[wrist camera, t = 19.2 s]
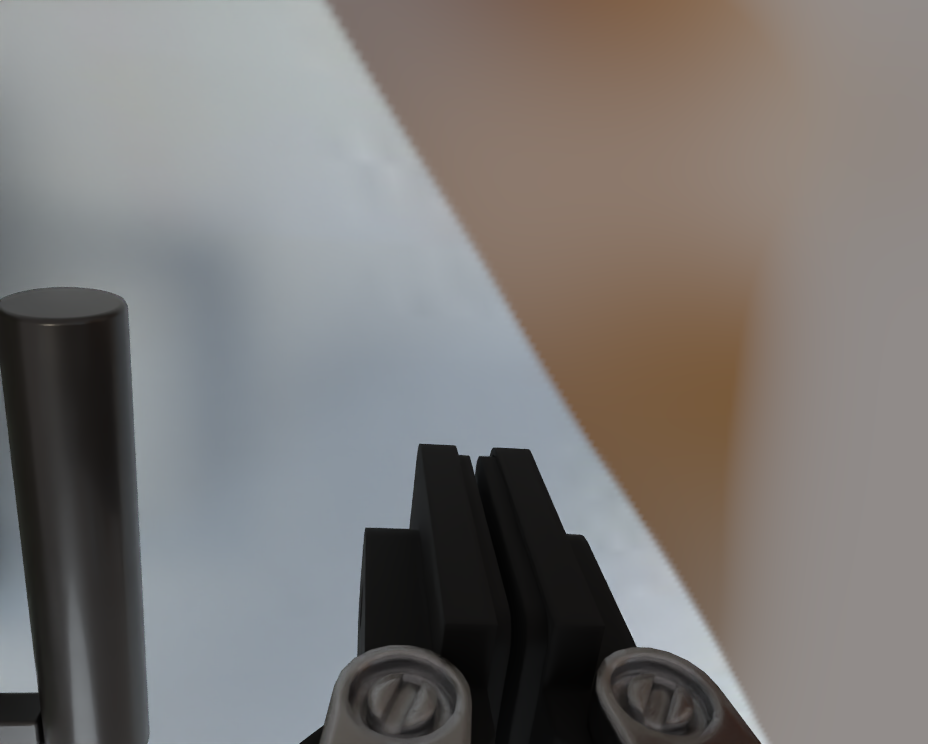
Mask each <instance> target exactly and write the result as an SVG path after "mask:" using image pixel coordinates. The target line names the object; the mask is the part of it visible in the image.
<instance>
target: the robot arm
mask: <svg viewBox="0 0 928 744" xmlns="http://www.w3.org/2000/svg"><path fill="white" fill-rule="evenodd" d="M300 744H761V742H760V741H759V740H758V739H757V737H756V736H755V735H754V733H753V732H752V731H751V729H750V728H749V727H748V725H747V724H746V723H745V721H744V720H743V719H742V717H741V716H740V715H739V713H738V712H737V711H736V709H735V708H734V707H733V705H732V704H731V703H730V701H729V700H728V699H727V697H726V696H725V695H724V693H723V692H722V691H721V690H720V688H719V687H718V686H717V685H716V684H715V683H714V682H713V680H712V679H711V678H710V677H709V676H708V675H707V674H706V673H705V672H704V671H702V670H701V669H699V668H698V667H696V666H695V665H693V664H692V663H690V662H689V661H688V660H685V659H683V658H681V657H679V656H676V655H674V654H672V653H669V652H666V651H662V650H657V649H653V648H640V647H636V645H635V642H634V640H633V638H632V636H631V634H630V632H629V630H628V627H627V625H626V623H625V621H624V619H623V617H622V615H621V612H620V610H619V608H618V606H617V604H616V602H615V600H614V597H613V595H612V593H611V591H610V589H609V587H608V585H607V582H606V580H605V578H604V576H603V574H602V572H601V570H600V567H599V565H598V563H597V561H596V559H595V557H594V555H593V552H592V550H591V548H590V546H589V544H588V542H587V540H586V539H585V537H584V536H582V535H576V534H566V533H565V530H564V528H563V526H562V523H561V521H560V519H559V516H558V514H557V512H556V509H555V507H554V505H553V502H552V500H551V498H550V495H549V493H548V491H547V488H546V486H545V484H544V481H543V479H542V477H541V474H540V472H539V470H538V467H537V465H536V463H535V460H534V458H533V456H532V453H531V451H530V450H529V449H513V448H492V450H491V453H490V457H487V456H479V458H478V460H477V465H476V472H475V475H474V471H473V467H472V463H471V460H470V457H469V456H466V455H458V452H457V448H456V446H454V445H434V444H419V447H418V452H417V461H416V470H415V480H414V490H413V499H412V509H411V518H410V528H409V529H393V528H365V533H364V544H363V556H362V569H361V582H360V598H359V618H358V654H357V657H356V658H354V659H353V660H352V661H351V662H350V663H349V664H348V665H347V666H346V667H345V668H344V669H343V670H342V671H341V673H340V675H339V677H338V679H337V681H336V683H335V685H334V689H333V692H332V696H331V700H330V704H329V708H328V712H327V716H326V719H325V723H324V725H323V726H322V727H321V728H319V729H318V730H317V731H315V732H314V733H313V734H311V735H310V736H309V737H307V738H306V739H305V740H303V741H302V742H301V743H300Z"/></svg>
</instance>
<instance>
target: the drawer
mask: <svg viewBox="0 0 928 744" xmlns="http://www.w3.org/2000/svg"><path fill="white" fill-rule="evenodd" d="M0 368H1V377H2V385H3V394H4V402H5V411H6V419H7V428H8V436H9V445H10V453H11V462H12V471H13V479H14V488H15V496H16V505H17V513H18V522H19V530H20V539H21V547H22V556H23V564H24V573H25V582H26V590H27V599H28V607H29V616H30V624H31V633H32V641H33V650H34V658H35V667H36V675H37V684H38V692H39V693H0V744H147V743H148V740H149V734H150V730H149V711H148V691H147V671H146V651H145V631H144V611H143V592H142V572H141V552H140V532H139V512H138V492H137V473H136V453H135V433H134V413H133V393H132V373H131V354H130V334H129V314H128V305H127V303H126V301H125V300H124V299H123V298H122V297H120V296H119V295H116V294H113V293H110V292H106V291H102V290H97V289H90V288H78V287H52V288H41V289H33V290H27V291H23V292H18V293H15V294H12V295H9V296H6V297H4V298H2V299H0Z"/></svg>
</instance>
